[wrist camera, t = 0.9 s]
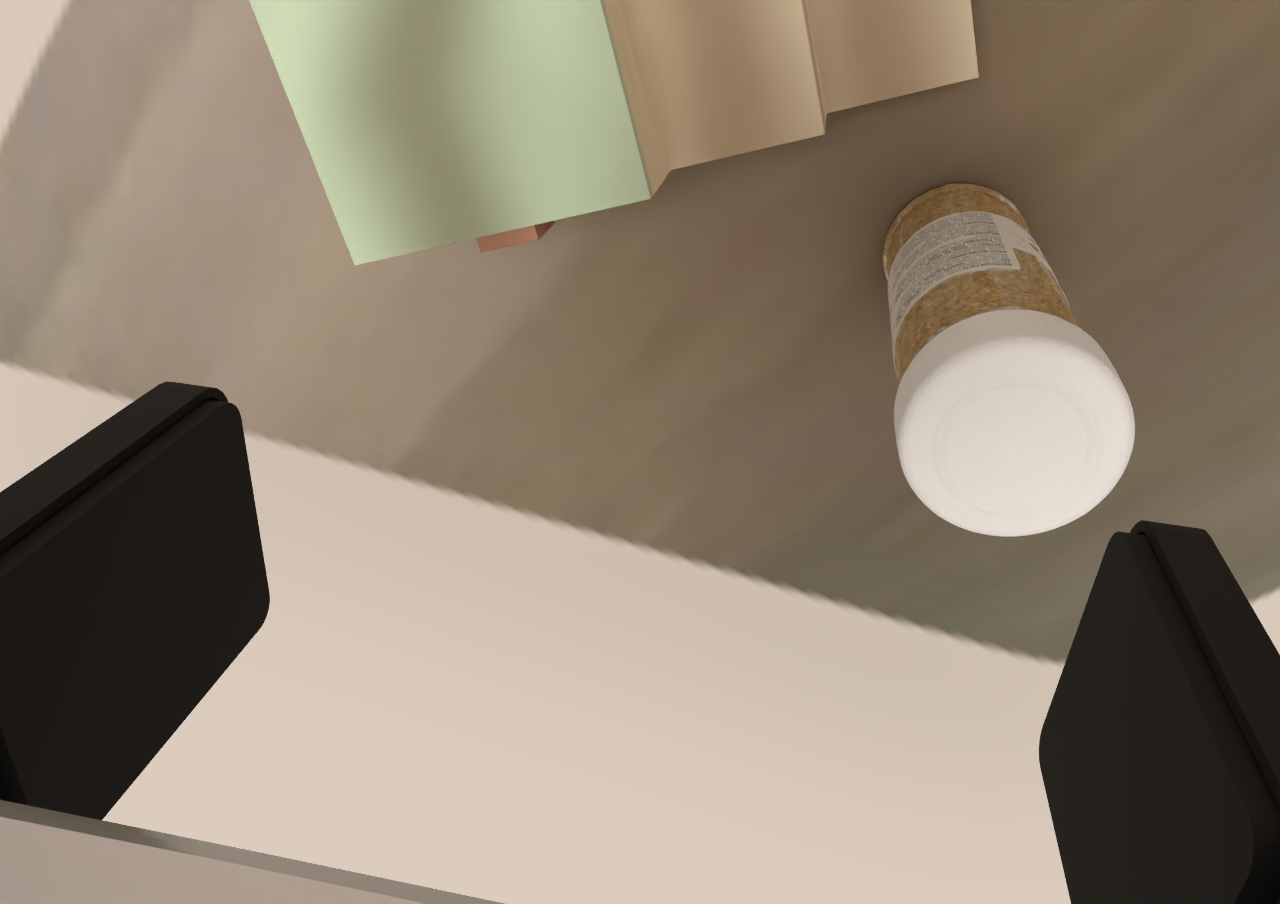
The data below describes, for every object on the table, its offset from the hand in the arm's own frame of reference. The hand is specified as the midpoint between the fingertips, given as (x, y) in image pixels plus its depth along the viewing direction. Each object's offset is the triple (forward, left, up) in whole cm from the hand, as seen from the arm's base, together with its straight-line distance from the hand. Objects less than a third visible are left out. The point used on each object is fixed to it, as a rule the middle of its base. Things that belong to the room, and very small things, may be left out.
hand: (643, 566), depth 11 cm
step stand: (+2, -5, -23) cm, 24 cm away
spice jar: (-5, +4, -23) cm, 24 cm away
